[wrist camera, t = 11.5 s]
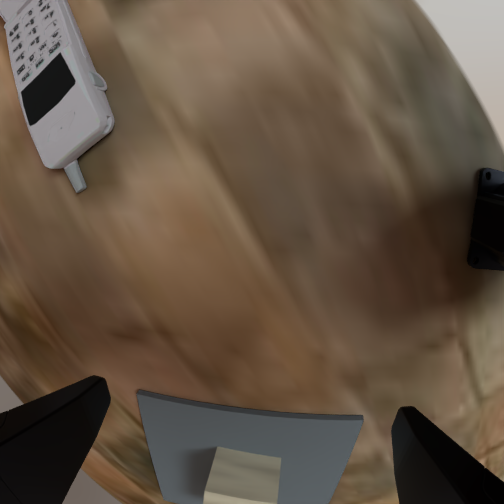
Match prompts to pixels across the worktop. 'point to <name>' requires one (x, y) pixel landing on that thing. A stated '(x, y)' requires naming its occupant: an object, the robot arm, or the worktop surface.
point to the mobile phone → (56, 83)
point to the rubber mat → (245, 446)
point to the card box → (242, 478)
